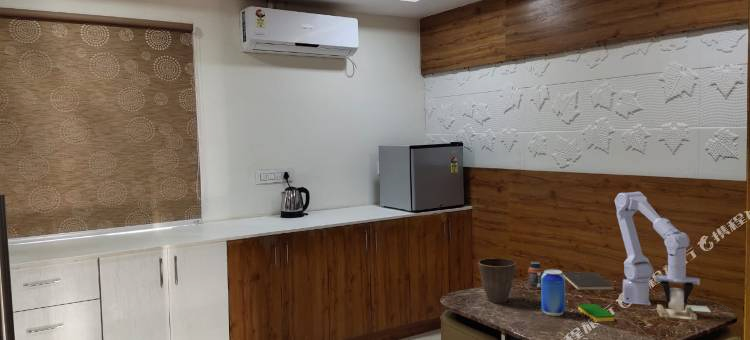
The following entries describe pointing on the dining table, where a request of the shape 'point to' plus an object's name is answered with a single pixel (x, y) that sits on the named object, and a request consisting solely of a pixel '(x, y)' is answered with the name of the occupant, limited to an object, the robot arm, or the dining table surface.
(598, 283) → the hardcover book
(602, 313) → the dish sponge
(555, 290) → the beer can
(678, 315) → the cradle
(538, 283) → the supplement bottle
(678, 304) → the white domed cylinder
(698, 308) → the mat
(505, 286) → the plant pot
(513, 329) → the dining table surface
